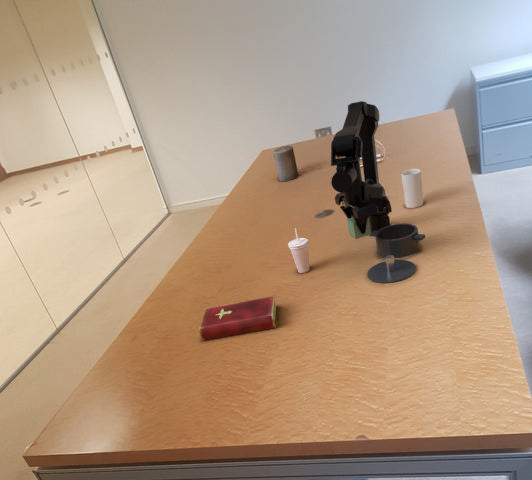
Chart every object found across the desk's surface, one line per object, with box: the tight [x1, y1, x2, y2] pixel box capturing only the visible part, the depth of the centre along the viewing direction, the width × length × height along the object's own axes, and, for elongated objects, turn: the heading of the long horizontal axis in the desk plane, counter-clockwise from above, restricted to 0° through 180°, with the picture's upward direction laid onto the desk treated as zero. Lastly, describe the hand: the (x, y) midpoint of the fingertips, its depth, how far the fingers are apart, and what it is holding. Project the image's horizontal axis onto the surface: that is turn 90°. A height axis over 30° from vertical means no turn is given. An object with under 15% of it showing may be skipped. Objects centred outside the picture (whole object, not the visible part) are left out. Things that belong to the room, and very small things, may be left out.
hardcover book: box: [198, 294, 279, 341], centre depth 158 cm, size 12×21×4 cm, turn 87°
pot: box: [369, 222, 426, 259], centre depth 172 cm, size 13×18×6 cm
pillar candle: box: [272, 145, 300, 182], centre depth 266 cm, size 10×10×15 cm
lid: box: [366, 255, 417, 284], centre depth 161 cm, size 14×14×5 cm
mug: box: [400, 168, 424, 209], centre depth 201 cm, size 10×7×12 cm, turn 161°
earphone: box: [360, 139, 386, 168], centre depth 260 cm, size 14×17×18 cm
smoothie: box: [287, 227, 311, 274], centre depth 175 cm, size 6×6×14 cm
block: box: [346, 217, 371, 240], centre depth 167 cm, size 5×5×5 cm
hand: (359, 231), depth 167 cm, fingers closed on block, 5 cm apart
